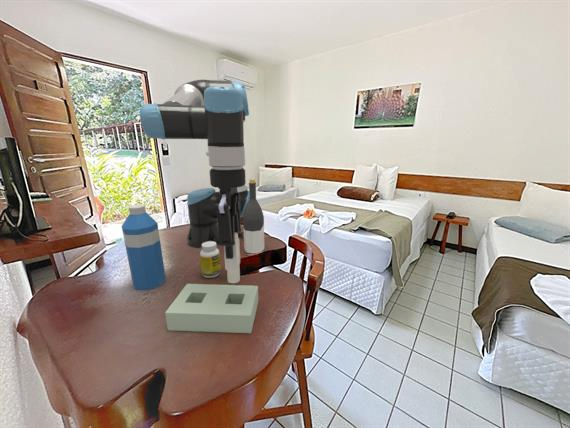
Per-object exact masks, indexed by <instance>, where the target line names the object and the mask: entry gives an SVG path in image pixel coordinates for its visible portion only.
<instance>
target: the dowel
mask: <svg viewBox="0 0 570 428" xmlns="http://www.w3.org/2000/svg"><path fill="white" fill-rule="evenodd" d="M238 238H239V237H238V233H236V232H235V243H236V249H237V268H238V269H237V270H226V274H227V277H226V278H227V283H230V284H237V283H239V282H240V281H241V271H240V270H241V269H240V264H239V247H238Z"/></svg>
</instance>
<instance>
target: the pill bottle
mask: <svg viewBox="0 0 570 428" xmlns="http://www.w3.org/2000/svg"><path fill="white" fill-rule="evenodd" d="M217 245H218V244H216V242H213V241H208V242H204V243H203V244H202V247H201V250H200V253H199V256H200V258H199V259H200V269H201V276H203V277H204V278H207V279H212V278H216V277H218V276H219V275H220V274H221V272H222V270H221V269H222V268H221V256H220V254H221V253H220V250H219V249H218V248H217Z"/></svg>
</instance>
